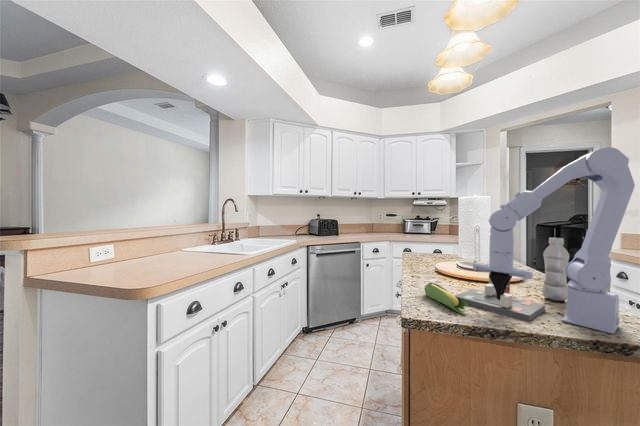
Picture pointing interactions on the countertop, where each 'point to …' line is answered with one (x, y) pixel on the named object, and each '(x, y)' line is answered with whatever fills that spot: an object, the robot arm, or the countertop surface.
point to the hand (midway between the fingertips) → (500, 299)
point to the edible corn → (445, 297)
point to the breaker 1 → (490, 289)
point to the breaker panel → (491, 303)
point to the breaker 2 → (506, 300)
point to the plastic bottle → (555, 270)
